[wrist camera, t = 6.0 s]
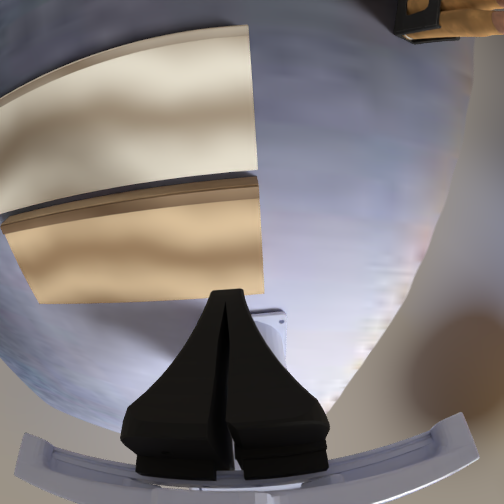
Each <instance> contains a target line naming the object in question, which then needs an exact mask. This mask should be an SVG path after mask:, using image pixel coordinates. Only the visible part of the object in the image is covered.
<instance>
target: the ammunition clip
mask: <svg viewBox="0 0 504 504" xmlns="http://www.w3.org/2000/svg"><path fill="white" fill-rule="evenodd" d="M500 8H504V0H398V7H397V14H396V21H395V27H394V34H395V35H396V36H398V37H400V38H402V39H404V40H406V41H408V42H410V43H412V44H414V45H415V44H423V43H431V42H441V41H455V40H460V37H486V36H490V35H504V11H490V10H493V9H500Z"/></svg>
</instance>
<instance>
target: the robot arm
mask: <svg viewBox="0 0 504 504" xmlns="http://www.w3.org/2000/svg"><path fill="white" fill-rule="evenodd" d="M280 320H282V321H280ZM286 335H287V315H286V313H285V312H272V313H261V314H250V311H249V309H248V306H247V303H246V300H245V296H244V290H243V289H241V288H237V289H225V290H213V291H212V292H211V293H210V296H209V298H208V301H207V304H206V306H205V308H204V311H203V313H202V315H201V317H200V319H199V321H198V323H197V325H196V327H195V329H194V330H193V332H192V334H191V336H190V337H189V339H188V341H187V342H186V344H185V345H184V347H183V349H182V350H181V351H180V353H179V354H178V356H177V357H176V358H175V360H174V361H173V362H172V364H171V365H170V366H169V367H168V369H167V370H166V371H165V372H164V373H163V374H162V376H161V377H160V378H159V379H158V380H157V381H156V382H155V383H154V384H153V385H152V386H151V387H150V388H149V389H148V390H147V391H146V392H145V393H144V394H143V395H142V396H140V397H139V398H138V399H137V400H136V401H135V402H133V403H132V404H131V405H130V406H129V407H128V408H127V411H126V414H125V417H124V420H123V425H122V430H121V436H120V439H121V441H122V443H123V444H124V445H125V446H126V447H128V448H129V449H130V450H132V451H133V452H134V453H135V454H137V460H136V465H132V464H126V463H120V462H115V461H109V460H104V459H100V458H95V457H90V456H86V455H82V454H79V453H75V452H71V451H68V450H64V449H61V448H57V447H54V446H53V445H52V444H50V443H49V442H48V441H46V440H44V439H42V438H40V437H37V436H34V435H31V434H28V433H24V436H23V439H22V443H21V447H20V451H19V455H18V459H17V463H16V468H15V472H14V475H15V476H16V477H18V478H20V479H22V480H24V481H26V482H28V483H30V484H32V485H34V486H36V487H38V488H40V489H42V490H45V491H47V492H49V493H52V494H54V495H56V496H59V497H62V498H64V499H67V500H70V501H73V502H75V503H78V504H383V503H386V502H389V501H392V500H395V499H398V498H400V497H403V496H405V495H408V494H411V493H413V492H415V491H418V490H420V489H422V488H425V487H427V486H429V485H431V484H434V483H436V482H438V481H440V480H442V479H444V478H446V477H448V476H450V475H452V474H454V473H456V472H457V471H459V470H461V469H463V468H465V467H466V466H468V465H470V464H471V463H473V462H475V461H476V460H478V459H479V454H478V451H477V448H476V446H475V443H474V440H473V437H472V435H471V433H470V430H469V427H468V425H467V422H466V420H465V418H464V415H463V413H462V412H459V413H457V414H455V415H453V416H451V417H448V418H446V419H444V420H442V421H440V422H438V423H437V424H435V425H434V426H433V427H432V428H431V430H429V431H427V432H424V433H421V434H419V435H416V436H413V437H411V438H408V439H405V440H402V441H399V442H396V443H393V444H390V445H387V446H383V447H380V448H377V449H373V450H369V451H366V452H362V453H358V454H354V455H350V456H345V457H341V458H336V459H331V460H328V458H327V453H326V449H327V445H326V440H325V438H326V436H327V434H328V432H329V430H330V425H329V422H328V419H327V416H326V414H325V412H324V410H323V408H322V407H321V405H320V403H319V402H318V400H317V399H316V398H315V397H314V396H312V395H311V394H310V393H309V392H308V391H307V390H306V389H305V388H303V387H302V386H301V385H300V384H299V383H298V382H297V381H296V380H295V379H294V378H293V376H292V375H291V374H290V373H289V372H288V371H287V366H286ZM153 484H156V485H153ZM158 485H165V486H176V487H188V488H189V490H182V489H169V488H161V487H160V486H158Z"/></svg>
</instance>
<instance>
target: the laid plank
mask: <svg viewBox="0 0 504 504" xmlns="http://www.w3.org/2000/svg"><path fill="white" fill-rule="evenodd" d="M0 227H1V230H2V232H3V234H5V236H6V238H7V240H8V243H9V245H10V247H11V249H12V252H13V254H14V256H15V258H16V260H17V262H18V264H19V266H20V268H21V270H22V272H23V274H24V276H25V278H26V280H27V282H28V284H29V286H30V288H31V290H32V291H33V293H34V295H35V297H36V299H37V300H38V302H39V304H81V303H120V302H145V301H166V300H184V299H200V298H209V296H210V293H211V292H212V291H213V290H225V289H237V288H241V289H243V290H244V295H253V294H264V276H263V257H262V238H261V220H260V203H259V185H258V180H257V176H256V177H243V178H232V179H221V180H211V181H202V182H193V183H185V184H177V185H169V186H161V187H154V188H147V189H141V190H134V191H128V192H122V193H116V194H110V195H104V196H99V197H94V198H88V199H83V200H78V201H73V202H68V203H64V204H59V205H54V206H50V207H45V208H41V209H37V210H33V211H28V212H24V213H20V214H17V215H13V216H10V217H9V218H7V219H6V220H5V221H4V222H3V223H2V224H1V226H0Z"/></svg>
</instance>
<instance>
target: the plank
mask: <svg viewBox="0 0 504 504" xmlns="http://www.w3.org/2000/svg"><path fill="white" fill-rule="evenodd" d="M248 170H258V167H257V151H256V134H255V119H254V103H253V88H252V74H251V60H250V46H249V30H248V25H237V26H224V27H215V28H206V29H198V30H192V31H185V32H179V33H174V34H169V35H164V36H159V37H154V38H150V39H145V40H141V41H137V42H134V43H130V44H126V45H123V46H119V47H116V48H113V49H109V50H106V51H103V52H100V53H97V54H94V55H91V56H89V57H86V58H83V59H80V60H78V61H75V62H73V63H70V64H68V65H65V66H63V67H61V68H58V69H56V70H54V71H51V72H49V73H47V74H45V75H43V76H41V77H39V78H37V79H35V80H32V81H31V82H29V83H27V84H25V85H23V86H21V87H19V88H17V89H15V90H14V91H12V92H10V93H8V94H7V95H5V96H3V97H2V98H0V214H2V213H5V212H9V211H12V210H16V209H20V208H23V207H27V206H31V205H35V204H39V203H43V202H47V201H52V200H56V199H60V198H65V197H69V196H74V195H79V194H83V193H88V192H93V191H98V190H104V189H109V188H115V187H120V186H126V185H132V184H138V183H145V182H151V181H158V180H165V179H173V178H180V177H188V176H197V175H206V174H215V173H225V172H236V171H248Z"/></svg>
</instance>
